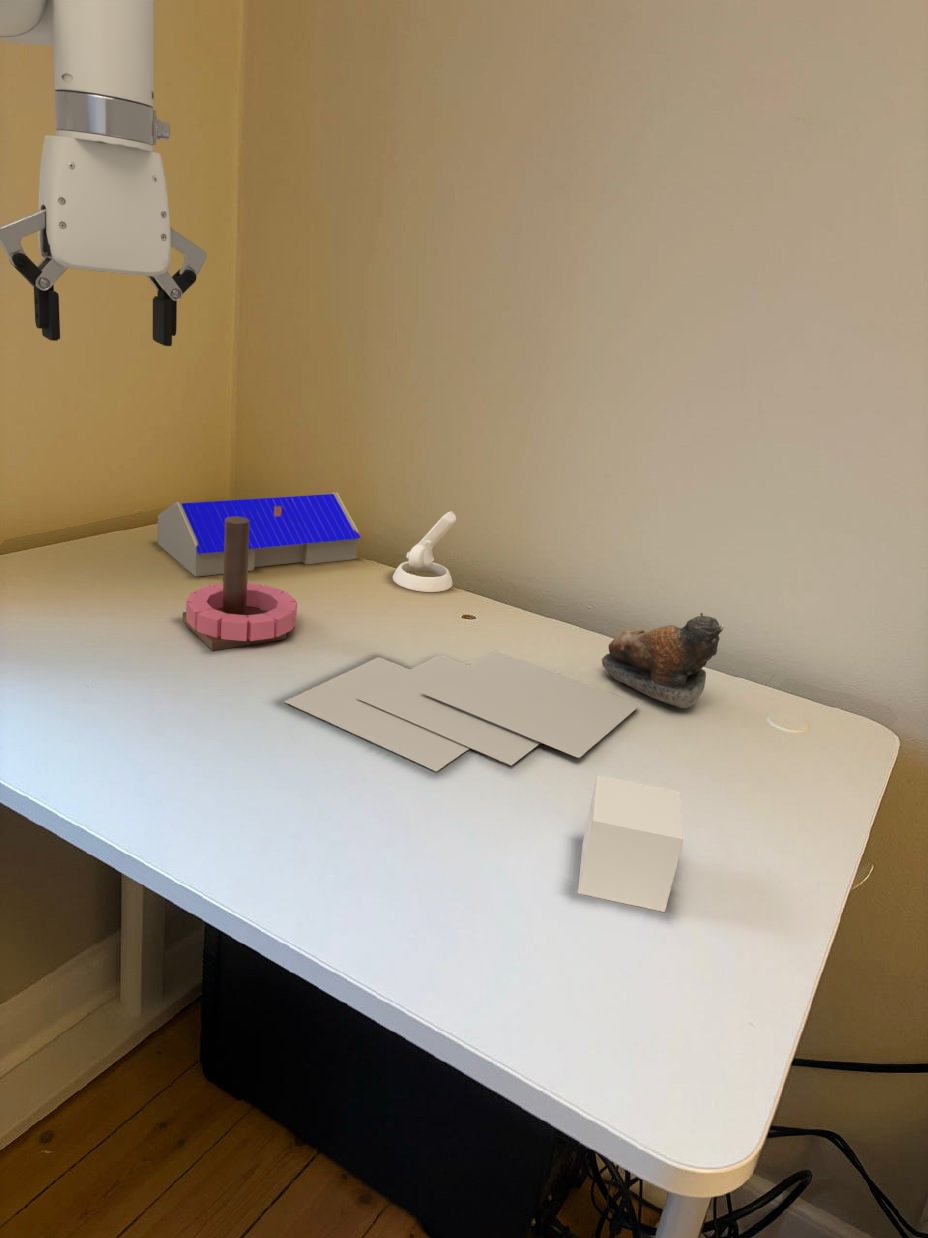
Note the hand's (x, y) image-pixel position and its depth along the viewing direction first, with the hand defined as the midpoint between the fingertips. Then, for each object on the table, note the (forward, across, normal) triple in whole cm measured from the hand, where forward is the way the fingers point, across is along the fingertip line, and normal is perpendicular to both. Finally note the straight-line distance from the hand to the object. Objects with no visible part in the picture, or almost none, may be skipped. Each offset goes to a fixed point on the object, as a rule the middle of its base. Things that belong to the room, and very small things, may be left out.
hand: (108, 340), depth 82 cm
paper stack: (+28, -24, +28) cm, 46 cm away
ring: (+27, -12, +4) cm, 30 cm away
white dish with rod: (+28, -39, -2) cm, 48 cm away
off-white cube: (+28, -19, +53) cm, 63 cm away
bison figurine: (+28, -44, +33) cm, 62 cm away
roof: (+28, -24, -18) cm, 41 cm away
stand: (+28, -11, +4) cm, 30 cm away
